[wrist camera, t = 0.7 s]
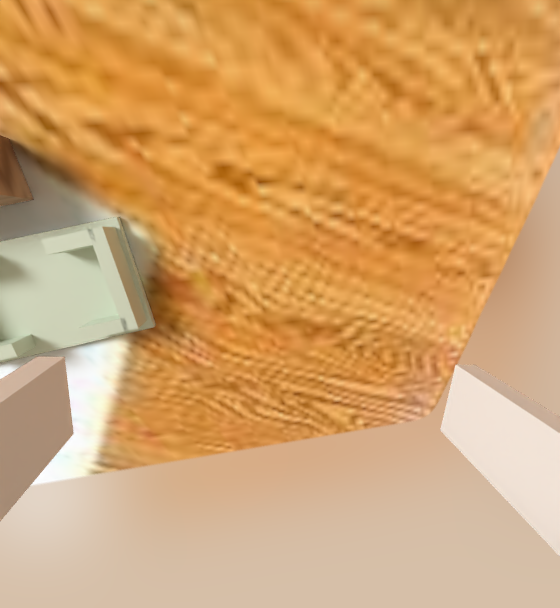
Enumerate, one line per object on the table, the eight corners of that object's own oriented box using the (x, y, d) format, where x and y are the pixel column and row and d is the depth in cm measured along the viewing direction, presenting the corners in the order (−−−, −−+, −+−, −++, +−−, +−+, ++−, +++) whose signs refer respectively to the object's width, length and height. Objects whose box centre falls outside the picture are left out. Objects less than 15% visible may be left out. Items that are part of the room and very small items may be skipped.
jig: (-66, 256, 32) (-107, 259, 28) (119, 217, 33) (103, 215, 29) (-11, 363, 35) (-41, 379, 32) (156, 325, 36) (145, 335, 33)
